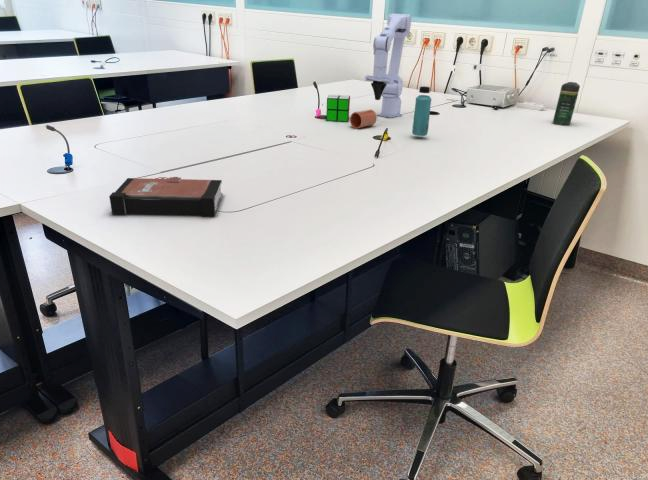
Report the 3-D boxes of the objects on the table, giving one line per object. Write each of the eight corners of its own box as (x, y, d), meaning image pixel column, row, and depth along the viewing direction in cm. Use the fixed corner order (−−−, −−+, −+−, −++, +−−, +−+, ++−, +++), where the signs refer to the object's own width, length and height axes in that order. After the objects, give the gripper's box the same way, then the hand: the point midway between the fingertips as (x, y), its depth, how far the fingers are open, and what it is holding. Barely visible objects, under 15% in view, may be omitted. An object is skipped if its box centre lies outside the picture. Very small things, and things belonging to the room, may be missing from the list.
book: (223, 194, 156) (222, 177, 153) (214, 216, 141) (213, 198, 138) (130, 192, 154) (128, 175, 152) (112, 214, 139) (109, 196, 137)
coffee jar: (568, 126, 255) (579, 84, 246) (551, 124, 258) (561, 82, 249) (571, 122, 262) (582, 82, 253) (554, 120, 265) (564, 80, 256)
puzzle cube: (349, 117, 256) (350, 95, 251) (347, 122, 248) (349, 99, 243) (327, 116, 257) (328, 94, 252) (326, 120, 248) (326, 97, 243)
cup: (365, 108, 241) (350, 111, 235) (377, 110, 237) (362, 113, 231) (364, 124, 245) (349, 127, 238) (375, 126, 241) (361, 129, 234)
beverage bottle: (426, 140, 222) (433, 88, 212) (410, 138, 223) (416, 87, 213) (427, 136, 227) (433, 86, 217) (411, 135, 228) (417, 85, 218)
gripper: (361, 65, 237) (359, 98, 243) (388, 69, 228) (385, 103, 235) (371, 64, 241) (369, 96, 248) (397, 68, 233) (394, 101, 240)
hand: (377, 99), depth 242 cm, fingers closed
